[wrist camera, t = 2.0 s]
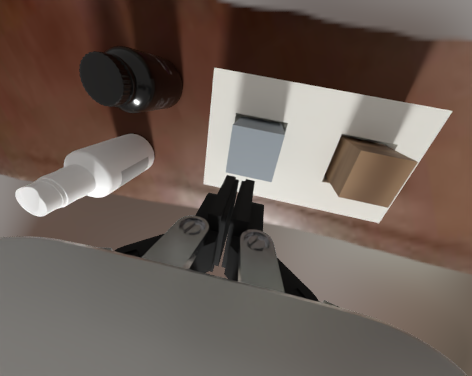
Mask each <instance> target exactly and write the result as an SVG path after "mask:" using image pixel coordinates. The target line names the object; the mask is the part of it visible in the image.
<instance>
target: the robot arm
mask: <svg viewBox="0 0 472 376" xmlns="http://www.w3.org/2000/svg"><path fill="white" fill-rule="evenodd" d="M238 183H239V180H237V179H236V177H234V176H230V175H227V176H226V178H225V180H224V182H223V184H222V186H221V188H220V190H219V192H218V194H212V193H208V194H207V196H206V198H205V200H204V201H203V203H202V205H201V206H200V208H199V210H198V212H197V214H196V215H195V216H185V217H183V218H181V219H179V220H178V221H177V222H176V223H175V224H174V225H173V226H172V227H171V228H170V229H169V230H168V231H167V232H166V233H165V234H162V235H159V236H155V237H152V238H149V239H146V240H142V241H139V242H136V243H133V244H129V245H126V246H123V247H121V248H118V249H116V250H115V251H112V249H111V248H99V247H93V246H89V245H84V244H79V243H73V242H69V241H64V240H59V239H51V238H43V237H23V236H22V237H1V238H0V376H467V375H466V374H465V373H464V372H463V371H462V370H461V369H460V368H459V367H458V366H457V365H456V364H455V363H453V362H452V361H451V360H450V359H449V358H447V357H446V356H444V355H443V354H442V353H440V352H439V351H438V350H436V349H435V348H433V347H431V346H430V345H429V344H427V343H425V342H423V341H422V340H420V339H418V338H416V337H415V336H413V335H411V334H409V333H408V332H406V331H404V330H401V329H399V328H397V327H395V326H393V325H391V324H388V323H386V322H383V321H380V320H378V319H375V318H372V317H370V316H367V315H364V314H360V313H357V312H353V311H350V310H346V309H343V308H340V307H338V306H335V305H333V304H331V303H329V302H327V301H323V302H320V301H318V299H317V298H316V296H315V295H314V294H313V293H312V292H311V291H310V290H309V289H308V288H307V287H306V286H305V285H304V284H303V283H302V282H301V281H300V280H299V279H298V278H297V277H296V276H295V275H294V274H293V273H292V272H291V271H290V270H289V269H288V268H287V267H286V266H285V265H284V264H283V263H282V262H281V261H280V260H279V259H278V258H277V256H276V252H275V247H274V243H273V241H272V239H271V238H270V236H269V235H267V234H266V233H264V232H263V215H264V205H262V204H258V203H253V202H252V198H253V191H254V184H255V181H253V180H248V179H246V181H242V182H241V185H240V189H239V192H238V196H237V199H236V194H237V188H238ZM235 199H236V202H235ZM234 204H235V206H234ZM227 234H228V236H227ZM226 238H227V241H226ZM225 241H226V247H225V253H224V257H223V262H222V267H224V268H225V273H224V274H225V275H226V277H227V278H228V279H226V278H222V277H218V276H214V275H210V274H206V272H208V271H211V272H212V271H213V268H214V265H216V266H218V265H219V262H220V259H221V255H222V252H223V248H224V245H225Z"/></svg>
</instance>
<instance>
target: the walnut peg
mask: <svg viewBox="0 0 472 376" xmlns="http://www.w3.org/2000/svg"><path fill="white" fill-rule="evenodd" d="M417 163H418V162H417V161H415V160H413V159H411V158H409V157H407V156H405V155H403V154H401V153H399V152H397V151H395V150H393V149H391V148H389V147H387V146H385V145H383V144H381V143H376V142H371V141H365V140H360V139H355V138H350V137H345V136H341V137H340V140H339V142H338V144H337V147H336V149H335V152H334V154H333V156H332V159H331V161H330V163H329V166H328V168H327V171H326V173H325V176H326V178H327V179H328V181H329V182H330V184H331V186H332V187H333V189H334V191H335V192H336V194H337V195H338V197H341V198H345V199H350V200H355V201H359V202H364V203H368V204H373V205H378V206H382V207H387V208H388V207H389V206H390V204H391V203H392V201H393V200H394V198H395V197H396V195H397V194H398V192H399V190H400V189H401V187H402V186H403V184H404V183H405V181H406V180H407V178H408V177H409V175H410V174H411V172H412V171H413V169H414V168H415V166H416V165H417Z"/></svg>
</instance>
